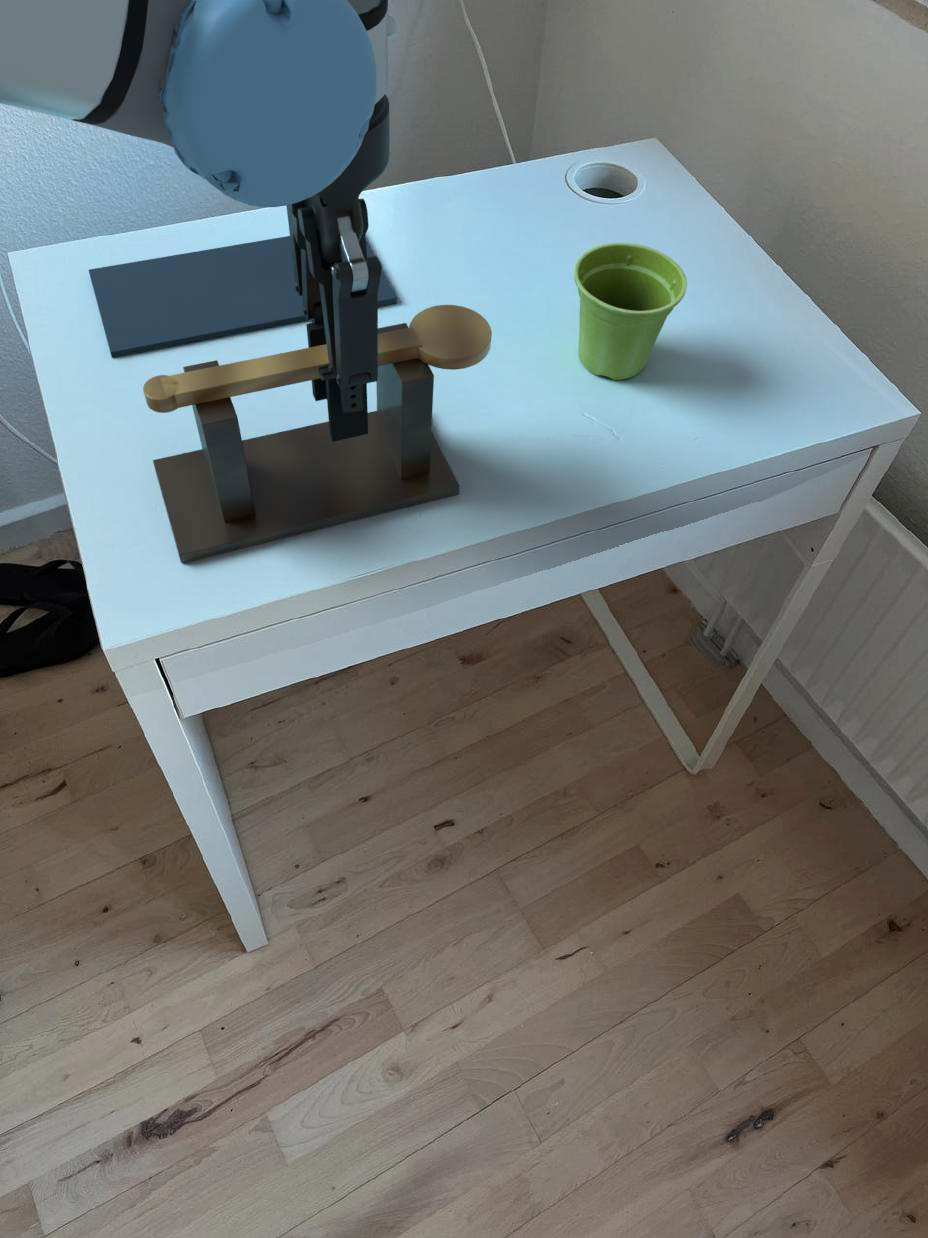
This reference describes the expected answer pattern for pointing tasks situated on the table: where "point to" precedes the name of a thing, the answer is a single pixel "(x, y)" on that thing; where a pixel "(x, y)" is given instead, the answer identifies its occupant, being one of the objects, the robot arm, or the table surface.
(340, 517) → the rack
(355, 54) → the robot arm
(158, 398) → the ladle
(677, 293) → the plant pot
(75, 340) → the table surface
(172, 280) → the mat
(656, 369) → the table surface
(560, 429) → the table surface
